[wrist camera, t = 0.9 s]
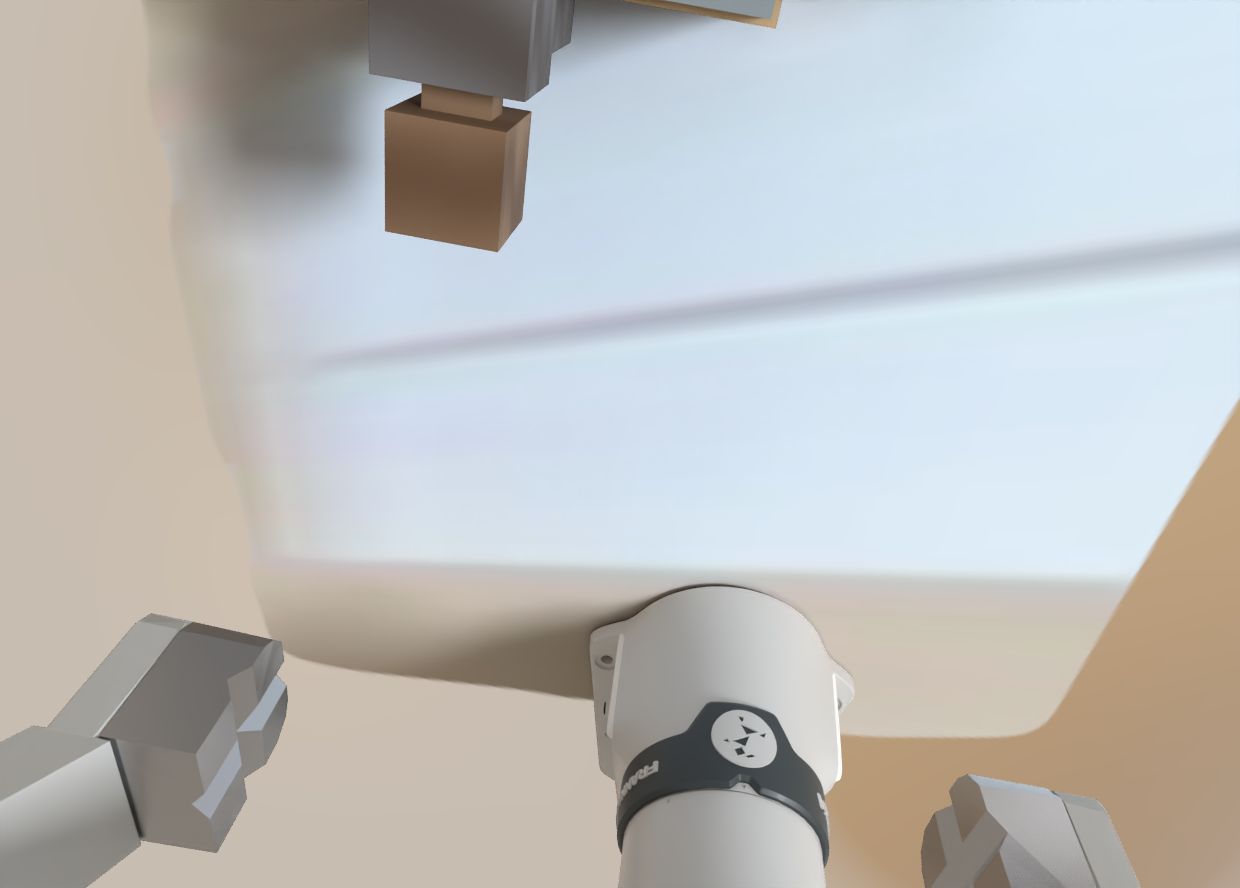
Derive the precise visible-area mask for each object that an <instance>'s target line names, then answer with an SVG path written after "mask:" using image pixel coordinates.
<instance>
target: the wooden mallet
mask: <svg viewBox="0 0 1240 888" xmlns="http://www.w3.org/2000/svg"><path fill="white" fill-rule="evenodd" d="M530 123H531V111H526V110H520V109H515V108H509V107H504V106H503V98H499V97H494V96H488V95H483V94H478V93H472V92H467V91H461V90H456V89H450V88H445V87H440V86H434V85H429V84H423V83H422V93H420V94H418V95H416V96H414V97H412V98H409V99H407V100H405V101H403V102H401V103H399V104H397V105H395V106H392V107H390V108H388V109H386V110H385V231H387V232H392V233H398V234H403V235H408V236H414V237H419V238H424V239H430V240H435V241H440V242H446V243H451V244H457V245H462V246H467V247H473V248H478V249H483V250H489V251H494V252H498V251H499V250H500V248H501V247H502V246H503V244H504V243H505V242H506V240H507V239H508V238H509V236H510V235H511V234H512V232H513V231H514V230H515V228H516V227H517V226H518V224H519V223H520V222H521V220H522V215H523V204H524V192H525V181H526V169H527V158H528V146H529V135H530Z"/></svg>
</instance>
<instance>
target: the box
mask: <svg viewBox="0 0 1240 888" xmlns="http://www.w3.org/2000/svg"><path fill="white" fill-rule="evenodd" d="M622 1H627V2H633V3H638V4H644V5H649V6H655V7H660V8H666V9H671V10H677V11H682V12H688V13H693V14H699V15H704V16H710V17H715V18H721V19H726V20H732V21H737V22H743V23H748V24H754V25H759V26H765V27H770V28H776V25H777V21H778V16H779V12H780V8H781V3H782V0H775V4H774V9H773V13H772V17H771V19H765V18H760V17H754V16H749V15H743V14H738V13H732V12H727V11H721V10H716V9H710V8H705V7H699V6H694V5H688V4H683V3H677V2H672V1H666V0H622ZM574 3H575V0H368V5H369V74H374V75H380V76H385V77H391V78H396V79H401V80H407V81H412V82H418V83H423V84H429V85H434V86H440V87H445V88H450V89H456V90H461V91H467V92H472V93H478V94H483V95H488V96H494V97H499V98H505V99H510V100H516V101H521V102H526V101H527V100H528V99H530V98H531V97H532V96H534V95H535V94H536V93H537V92H539V91H540V90H541V89H543V88H544V87H545V86H547V85H548V84H549V75H550V65H551V54H552V53H553V52H555V51H557V50H558V49H560V48H562V47H563V46H565V45H567V44H568V43H570V41H571V31H572V22H573V13H574Z"/></svg>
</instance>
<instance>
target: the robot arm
mask: <svg viewBox="0 0 1240 888" xmlns="http://www.w3.org/2000/svg"><path fill="white" fill-rule="evenodd" d="M589 650H590V662H591V674H592V685H593V697H594V708H595V720H596V732H597V743H598V755H599V765H600V769H601V771H602V772H603V773H604V774H605V775H607V776H608V777H610V778H611V779H613V780H615V784H616V793H617V802H618V805H617V815H616V826H617V840H618V846H619V849H620V852H621V854H622V857H621V867H620V875H619V884H618V888H826V881H825V873H824V868H825V866H826V863H827V860H828V856H829V833H830V830H829V817H828V812H827V808H826V805H825V798H824V796H825V795H826V794H827V793H828V792H829V791H830V790H831V788H832V787H833V785H834V783H835V782H836V781H839V780H840V778H841V774H842V760H841V745H840V730H839V715H840V714H841V713H842V712H843V710H844V709H845V708H846V707H847V705H848V704H849V703H850V702H851V700H852V699H853V697H854V681H853V679H852V677H851V676H850V675H849V674H848V673H847V672H846V671H845V670H844V669H843V668H841V667H840V666H839V665H838V664H836V663H835V662H834V661H833V660H831V659H830V657H829V656H828V654H827V652H826V650H825V648H824V646H823V643H822V641H821V639H820V637H819V635H818V633H817V632H816V630H815V629H814V628H813V626H812V625H811V624H810V623H809V622H808V621H807V620H806V619H805V618H804V617H803V616H802V615H801V614H800V613H799V612H797V611H796V610H795V609H793V608H792V607H790V606H789V605H787V604H785V603H783V602H781V601H779V600H777V599H775V598H773V597H770V596H768V595H765V594H762V593H759V592H755V591H752V590H747V589H741V588H734V587H701V588H694V589H688V590H684V591H680V592H677V593H674V594H671V595H668V596H666V597H664V598H662V599H659V600H658V601H656V602H654V603H652V604H651V605H649V606H648V607H646V608H645V609H644V610H642V611H641V612H639V613H638V614H637V615H635V616H634V617H632V618H630V619H628V620H626V621H621V622H617V623H613V624H609V625H606V626H603V627H600V628H598V629H596V630H595V631H593V632H592V634H591V636H590V647H589ZM605 655H607V656H605ZM283 662H284V656H283V650H282V644H281V641H276V640H272V639H267V638H263V637H258V636H254V635H249V634H245V633H241V632H236V631H231V630H227V629H223V628H218V627H214V626H209V625H205V624H200V623H196V622H191V621H186V620H181V619H177V618H172V617H167V616H162V615H157V614H152V613H151V614H149V615H148V616H146V617H144V618H143V619H141V620H140V621H138V622H137V623H135V625H134V626H133V627H132V628H131V629H130V630H129V631H128V633H127V634H126V635H125V636H124V637H123V638H122V640H121V641H120V642H119V643H118V644H117V646H116V647H115V648H114V649H113V650H112V651H111V653H110V654H109V655H108V656H107V657H106V658H105V660H104V661H103V662H102V663H101V664H100V666H99V667H98V668H97V669H96V670H95V671H94V673H93V674H92V675H91V676H90V677H89V679H88V680H87V681H86V682H85V683H84V684H83V686H82V687H81V688H80V689H79V690H78V691H77V693H76V694H75V695H74V696H73V697H72V698H71V700H70V701H69V702H68V703H67V704H66V706H65V707H64V708H63V709H62V710H61V711H60V713H59V714H58V715H57V716H56V717H55V718H54V720H53V721H52V722H51V723H50V724H49V726H48V727H47V728H46V727H39V726H31V727H30V728H27V729H25V730H23V731H21V732H20V733H17V734H16V735H14V736H12V737H10V738H8V739H6V740H4V741H2V742H0V888H86V887H87V886H88V885H90V884H91V883H93V882H94V881H95V880H96V879H98V878H99V877H100V876H102V875H103V874H104V873H106V872H107V871H108V870H109V869H111V868H112V867H113V866H115V865H116V864H117V863H118V862H120V861H121V860H123V859H124V858H125V857H126V856H128V855H129V854H130V853H132V852H133V851H134V850H136V849H137V848H138V847H139V846H140V845H141V842H140V840H142V841H148V842H154V843H160V844H166V845H172V846H178V847H184V848H190V849H196V850H203V851H208V852H214V853H217V852H218V850H219V848H220V846H221V844H222V843H223V841H224V839H225V837H226V835H227V833H228V832H229V830H230V828H231V826H232V825H233V823H234V821H235V819H236V817H237V815H238V814H239V812H240V810H241V808H242V806H243V804H244V803H245V801H246V799H247V798H246V797H247V796H246V790H245V784H244V778H245V777H246V776H248V775H249V774H251V773H252V772H254V771H256V770H257V769H259V768H260V767H262V766H263V765H265V764H266V762H267V760H268V759H269V757H270V755H271V753H272V751H273V749H274V747H275V745H276V743H277V741H278V738H279V735H280V732H281V729H282V726H283V723H284V720H285V717H286V710H287V702H288V696H287V686H286V685H285V683H284V682H283V681H282V680H281V679H280V678H279V677H278V676H277V675H276V674H277V672H278V670H279V668H280V666H281V665H282V663H283ZM949 792H950V796H951V800H952V804H953V805H951V806H949V807H947V808H944V809H942V810H940V811H937V812H935V813H934V815H933V816H932V818H931V820H930V822H929V823H928V825H927V827H926V829H925V832H924V838H923V843H922V849H921V859H922V874H923V879H924V884H925V888H1141V887H1140V885H1139V882H1138V880H1137V878H1136V876H1135V873H1134V871H1133V869H1132V867H1131V864H1130V862H1129V860H1128V858H1127V855H1126V853H1125V851H1124V849H1123V847H1122V844H1121V843H1120V840H1119V838H1118V835H1117V833H1116V831H1115V829H1114V827H1113V824H1112V822H1111V820H1110V817H1109V815H1108V813H1107V811H1106V810H1105V808H1104V807H1103V806H1102V805H1101V804H1100V803H1099V802H1098V801H1097V800H1096V799H1092V798H1088V797H1083V796H1078V795H1073V794H1067V793H1062V792H1056V791H1049V790H1048V789H1046V788H1041V787H1035V786H1030V785H1025V784H1019V783H1013V782H1008V781H1003V780H997V779H992V778H986V777H980V776H975V775H969V774H967V775H964V776H962V777H960V778H958V779H957V780H956V782H955V783H954V785H953V786H952V787H951V789H950V791H949Z"/></svg>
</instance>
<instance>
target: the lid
mask: <svg viewBox="0 0 1240 888" xmlns="http://www.w3.org/2000/svg"><path fill="white" fill-rule="evenodd" d="M666 1H672V2H677V3H683V4H688V5H694V6H699V7H705V8H710V9H716V10H721V11H727V12H732V13H738V14H743V15H749V16H754V17H760V18H765V19H771V17H772V13H773V9H774V4H775V0H666Z"/></svg>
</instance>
